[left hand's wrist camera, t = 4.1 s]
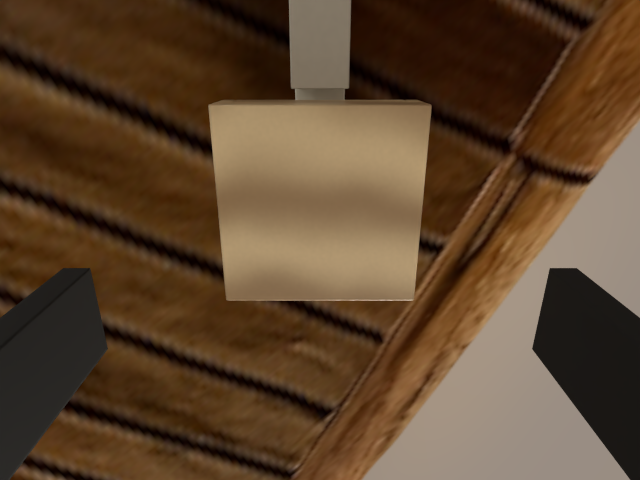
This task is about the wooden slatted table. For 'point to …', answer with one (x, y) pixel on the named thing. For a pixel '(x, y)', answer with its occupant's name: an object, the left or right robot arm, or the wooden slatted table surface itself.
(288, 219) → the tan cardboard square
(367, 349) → the wooden slatted table surface
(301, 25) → the toy wooden mallet
